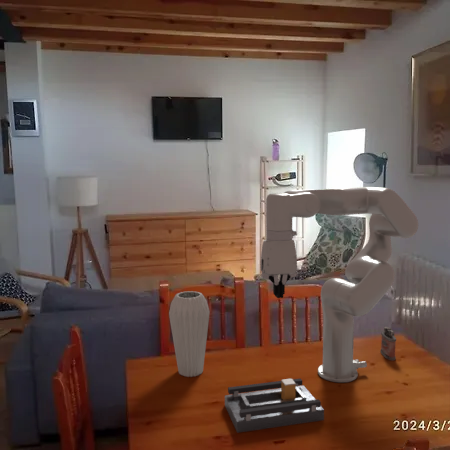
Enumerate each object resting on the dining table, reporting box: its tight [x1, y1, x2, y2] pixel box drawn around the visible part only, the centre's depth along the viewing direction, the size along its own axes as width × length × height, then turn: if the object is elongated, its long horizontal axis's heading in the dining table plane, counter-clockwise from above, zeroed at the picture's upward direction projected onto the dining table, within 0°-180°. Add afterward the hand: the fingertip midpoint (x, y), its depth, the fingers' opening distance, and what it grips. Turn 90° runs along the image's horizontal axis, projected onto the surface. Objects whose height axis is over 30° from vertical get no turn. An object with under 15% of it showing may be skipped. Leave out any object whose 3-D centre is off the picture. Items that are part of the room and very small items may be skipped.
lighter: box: [380, 326, 397, 361], centre depth 165 cm, size 8×3×10 cm, turn 6°
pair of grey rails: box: [227, 378, 322, 421], centre depth 128 cm, size 22×14×2 cm, turn 103°
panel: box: [224, 384, 325, 434], centre depth 128 cm, size 24×14×5 cm, turn 103°
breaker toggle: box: [280, 378, 296, 400], centre depth 129 cm, size 3×3×5 cm
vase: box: [168, 290, 210, 378], centre depth 153 cm, size 13×13×26 cm
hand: (278, 296), depth 138 cm, fingers closed
